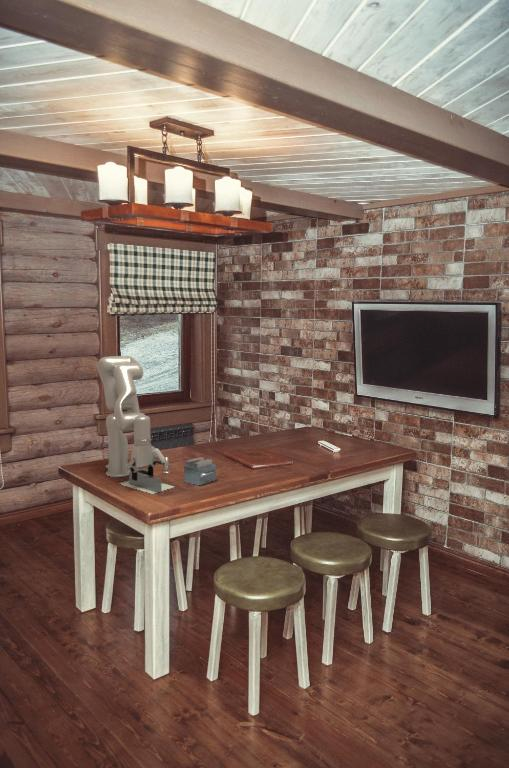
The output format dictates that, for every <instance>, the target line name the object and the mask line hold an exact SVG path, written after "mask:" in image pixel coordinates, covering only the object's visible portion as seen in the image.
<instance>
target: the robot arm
mask: <svg viewBox="0 0 509 768" xmlns="http://www.w3.org/2000/svg"><path fill="white" fill-rule="evenodd" d="M97 373H98V375H99V378H100V380H101V383H102V386H103V393H104V399H105V404H106V408H107V409H108V410H110V411H113V412H112V413H110V414H108V415H107V416H106V418H105V424H106V425H105V426H106V430H107V438H108V439H107V442H108V443H107V445H108V463H107V465H105V468H106V469H107V471H106V472H105V476H107V477H109V476H110V477H109V478H123V477H125V478H126V477H129V472H132V480H135V481H137V472H136V471H137V470H138V469H141V468H145V467H147V469H148V475H150V476H153V477H154V468H155V465H156V464H157V460H158V457H155V456H153V451H152V444H151V442H152V440H153V439H152V438H151V418H150V416H148V415H146V414H145V413H143V412H140V404H139V400H138V398H139V397H138V396H137V388H136V385H135V384H136V383H135V382H134V381H140V380H141V379H142V378H143V377H144V370H143V367H142V365H141V364H140V363H139V362H138V360H136V359H135V358H134V357H132V356H131V355H116V356H115V355H111V356H104V357H102V358H100V359H98V362H97ZM123 410H127V411H123ZM126 431H133V445H132V448H131V453H130V454H131V456H130V461H129V446H128V445H129V444H128V443H129V442H128V438H127V436H126V435H125V433H123V432H126Z"/></svg>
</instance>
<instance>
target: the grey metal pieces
mask: <svg viewBox="0 0 509 768" xmlns="http://www.w3.org/2000/svg"><path fill="white" fill-rule="evenodd" d="M183 471H184V472H183V482H184V483H185V482H188V483H187V484H189V483H191V484H190V485H193V484H195V485H194V486H196V485H201V486H203V485H202V484H204V485H206V484H205V483H207V484H209V483H208V482H210V483H212V482H211V481H214V482H216V481H217V473H218V472H219V471H218V470H217V464H215V463H213V460H212V459H210V458H208V459H205V458H204V457H196V458H191V459H188V460H186V461H185V465H184V466H183ZM162 473H163V474H165V473H167V474H170V473H171V471H170V470H169V457H168V456H164V470H163V471H162ZM215 480H216V481H215Z"/></svg>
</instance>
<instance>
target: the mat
mask: <svg viewBox="0 0 509 768" xmlns="http://www.w3.org/2000/svg"><path fill="white" fill-rule="evenodd" d="M119 484H121V485H120V486H122V485H123V486H124V487H126V486H127V488H129V487H130V488H129V489H132V488H133V489H134V490H136V489H137V491H139V490H140V492H142V491H143V493H146V492H147V493H146V494H149V493H150V495H152V494H153V495H156V494H158V493H157V492H154V491H151V490H147V489H144V488H140V487H137V486H134V485H130V484H129V480H127V481H124V482H120V483H118V485H119ZM161 486H162V492H165V491H164V490H166V491H168V490H167V489H169V490H172V489H175V488H174V487H175V486H174V485H170V484H167V483H164V482H163V483H162V482H161ZM171 488H172V489H171ZM155 493H156V494H155Z"/></svg>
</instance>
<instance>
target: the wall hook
mask: <svg viewBox="0 0 509 768" xmlns="http://www.w3.org/2000/svg"><path fill="white" fill-rule="evenodd" d="M151 446H152V445H151ZM152 451H153V456H155V457H157V460H159V462H160V463H161V464H162V465H163V464H165V462H164V457H165V456H164V455H163V454H162V451H161V450H160V449H159V448H157V447H156V448H155V446H154V445H153V446H152Z"/></svg>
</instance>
